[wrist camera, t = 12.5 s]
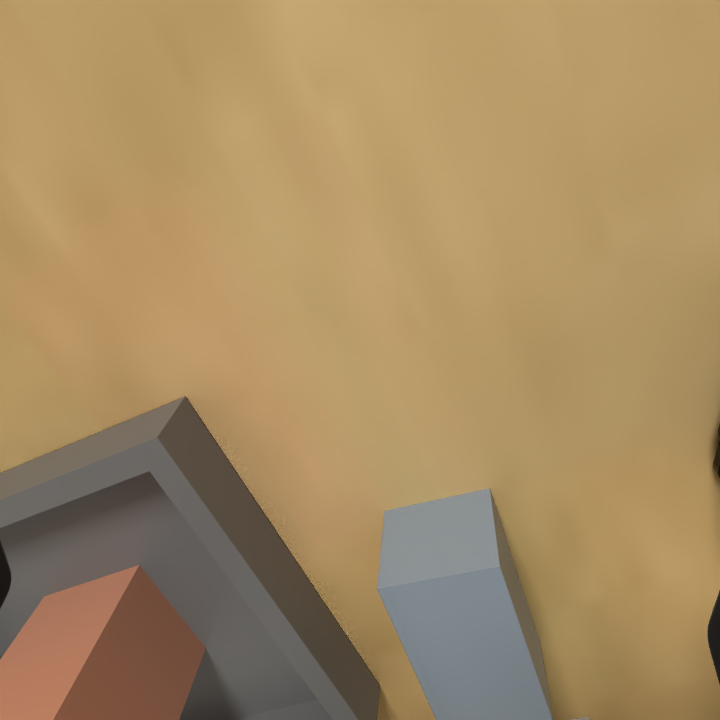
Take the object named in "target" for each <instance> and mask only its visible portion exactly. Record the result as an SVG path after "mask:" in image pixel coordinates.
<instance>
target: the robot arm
mask: <svg viewBox="0 0 720 720" xmlns="http://www.w3.org/2000/svg"><path fill="white" fill-rule="evenodd" d="M718 434H719V435H720V425H719V429H718ZM713 468H714V469H715V471H716V473H717V474H718V476H719V477H720V442H719V446H718V449H717V452H716V456H715V459H714V463H713ZM11 579H12V578H11V570H10V567H9V564H8V561H7V558H6V555H5V552H4V549H3V546H2V543H1V540H0V609H1V607H2V605H3V603H4V601H5V599H6V597H7V595H8V592H9V589H10V586H11ZM708 643H709V648H710V651H711V655H712V659H713V662H714V666H715V670H716V673H717V677H718V681H719V684H720V591H719V594H718V597H717V600H716V603H715V606H714V609H713V612H712V615H711V618H710V621H709V625H708Z"/></svg>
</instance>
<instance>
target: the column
mask: <svg viewBox="0 0 720 720" xmlns="http://www.w3.org/2000/svg"><path fill="white" fill-rule="evenodd" d="M205 649H206V648H205V646H204V645H203V644H202V643H201V641H200V640H199V639H198V638H197V636H196V635H195V634H194V633H193V631H192V630H191V629H190V628H189V626H188V625H187V624H186V623H185V621H184V620H183V619H182V618H181V616H180V615H179V614H178V613H177V611H176V610H175V609H174V608H173V606H172V605H171V604H170V603H169V601H168V600H167V599H166V598H165V596H164V595H163V594H162V593H161V591H160V590H159V589H158V588H157V586H156V585H155V584H154V583H153V581H152V580H151V579H150V578H149V576H148V575H147V574H146V573H145V571H144V570H143V569H142V568H141V566H140V565H138V566H135V567H132V568H129V569H126V570H123V571H120V572H117V573H114V574H111V575H108V576H105V577H102V578H99V579H96V580H93V581H90V582H87V583H84V584H80V585H77V586H74V587H71V588H68V589H65V590H62V591H59V592H56V593H53V594H50V595H47V596H44V597H43V599H42V600H41V602H40V603H39V605H38V606H37V608H36V609H35V610H34V612H33V613H32V615H31V616H30V618H29V619H28V620H27V622H26V623H25V625H24V626H23V628H22V629H21V631H20V632H19V633H18V635H17V636H16V638H15V639H14V641H13V642H12V644H11V645H10V646H9V648H8V649H7V651H6V652H5V654H4V655H3V656H2V658H1V659H0V720H179V719H180V716H181V713H182V711H183V708H184V705H185V702H186V700H187V697H188V694H189V692H190V689H191V686H192V684H193V681H194V678H195V676H196V673H197V670H198V667H199V665H200V662H201V659H202V657H203V654H204V651H205Z"/></svg>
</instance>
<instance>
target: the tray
mask: <svg viewBox="0 0 720 720" xmlns="http://www.w3.org/2000/svg"><path fill="white" fill-rule="evenodd" d="M0 540H1V543H2V546H3V549H4V552H5V555H6V558H7V561H8V564H9V567H10V570H11V578H12V579H11V586H10V589H9V592H8V595H7V597H6V599H5V601H4V603H3V605H2V607H1V609H0V659H1V658H2V656H3V655H4V654H5V652H6V651H7V649H8V648H9V646H10V645H11V644H12V642H13V641H14V639H15V638H16V636H17V635H18V633H19V632H20V631H21V629H22V628H23V626H24V625H25V623H26V622H27V620H28V619H29V618H30V616H31V615H32V613H33V612H34V610H35V609H36V608H37V606H38V605H39V603H40V602H41V600H42V599H43V597H44V596H47V595H50V594H53V593H56V592H59V591H62V590H65V589H68V588H71V587H74V586H77V585H80V584H84V583H87V582H90V581H93V580H96V579H99V578H102V577H105V576H108V575H111V574H114V573H117V572H120V571H123V570H126V569H129V568H132V567H135V566H138V565H140V566H141V568H142V569H143V570H144V571H145V573H146V574H147V575H148V576H149V578H150V579H151V580H152V581H153V583H154V584H155V585H156V586H157V588H158V589H159V590H160V591H161V593H162V594H163V595H164V596H165V598H166V599H167V600H168V601H169V603H170V604H171V605H172V606H173V608H174V609H175V610H176V611H177V613H178V614H179V615H180V616H181V618H182V619H183V620H184V621H185V623H186V624H187V625H188V626H189V628H190V629H191V630H192V631H193V633H194V634H195V635H196V636H197V638H198V639H199V640H200V641H201V643H202V644H203V645H204V646H205V648H206V649H205V651H204V654H203V657H202V659H201V662H200V665H199V667H198V670H197V673H196V676H195V678H194V681H193V684H192V686H191V689H190V692H189V694H188V697H187V700H186V702H185V705H184V708H183V711H182V713H181V716H180V719H179V720H377V714H378V701H379V689H380V685H379V684H378V682H377V681H376V679H375V678H374V676H373V675H372V673H371V672H370V670H369V669H368V667H367V666H366V664H365V663H364V661H363V660H362V658H361V657H360V655H359V654H358V652H357V651H356V650H355V648H354V647H353V645H352V644H351V642H350V641H349V639H348V638H347V636H346V635H345V633H344V632H343V630H342V629H341V627H340V626H339V624H338V623H337V621H336V620H335V618H334V617H333V615H332V614H331V612H330V611H329V609H328V608H327V606H326V605H325V603H324V602H323V600H322V599H321V597H320V596H319V595H318V593H317V592H316V590H315V589H314V587H313V586H312V584H311V583H310V581H309V580H308V578H307V577H306V575H305V574H304V572H303V571H302V569H301V568H300V566H299V565H298V563H297V562H296V560H295V559H294V557H293V556H292V554H291V553H290V551H289V550H288V548H287V547H286V545H285V544H284V542H283V541H282V540H281V538H280V537H279V535H278V534H277V532H276V531H275V529H274V528H273V526H272V525H271V523H270V522H269V520H268V519H267V517H266V516H265V514H264V513H263V511H262V510H261V508H260V507H259V505H258V504H257V502H256V501H255V499H254V498H253V496H252V495H251V493H250V492H249V490H248V489H247V487H246V486H245V485H244V483H243V482H242V480H241V479H240V477H239V476H238V474H237V473H236V471H235V470H234V468H233V467H232V465H231V464H230V462H229V461H228V459H227V458H226V456H225V455H224V453H223V452H222V450H221V449H220V447H219V446H218V444H217V443H216V441H215V440H214V438H213V437H212V435H211V434H210V432H209V431H208V430H207V428H206V427H205V425H204V424H203V422H202V421H201V419H200V418H199V416H198V415H197V413H196V412H195V410H194V409H193V407H192V406H191V404H190V403H189V401H188V400H187V398H186V397H183V398H180V399H178V400H176V401H173V402H171V403H168V404H166V405H164V406H161V407H159V408H156V409H154V410H152V411H149V412H147V413H144V414H142V415H139V416H137V417H135V418H132V419H130V420H127V421H125V422H123V423H120V424H118V425H115V426H113V427H110V428H108V429H106V430H103V431H101V432H98V433H96V434H94V435H91V436H89V437H86V438H84V439H82V440H79V441H77V442H74V443H72V444H69V445H67V446H65V447H62V448H60V449H57V450H55V451H53V452H50V453H48V454H45V455H43V456H41V457H38V458H36V459H33V460H31V461H28V462H26V463H24V464H21V465H19V466H16V467H14V468H12V469H9V470H7V471H4V472H2V473H0Z"/></svg>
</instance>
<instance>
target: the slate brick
mask: <svg viewBox="0 0 720 720" xmlns="http://www.w3.org/2000/svg"><path fill="white" fill-rule="evenodd" d="M377 590H378V592H379V594H380V597H381V599H382V601H383V603H384V605H385V608H386V610H387V612H388V614H389V616H390V619H391V621H392V623H393V625H394V628H395V630H396V632H397V634H398V636H399V639H400V641H401V643H402V645H403V647H404V650H405V652H406V654H407V656H408V658H409V661H410V663H411V665H412V667H413V669H414V672H415V674H416V676H417V678H418V680H419V683H420V685H421V687H422V689H423V692H424V694H425V696H426V698H427V700H428V703H429V705H430V707H431V709H432V711H433V714H434V716H435V718H436V720H554V718H553V712H552V707H551V701H550V696H549V690H548V685H547V679H546V673H545V668H544V662H543V657H542V651H541V646H540V640H539V637H538V634H537V631H536V628H535V625H534V622H533V619H532V616H531V613H530V610H529V607H528V604H527V601H526V598H525V594H524V591H523V588H522V585H521V582H520V579H519V576H518V573H517V570H516V567H515V564H514V561H513V558H512V555H511V552H510V549H509V546H508V543H507V540H506V537H505V533H504V530H503V527H502V524H501V521H500V518H499V515H498V512H497V509H496V506H495V503H494V500H493V497H492V494H491V491H490V489H485V490H480V491H476V492H471V493H466V494H462V495H457V496H452V497H448V498H443V499H438V500H434V501H429V502H424V503H420V504H415V505H410V506H406V507H401V508H396V509H392V510H387V511H385V513H384V524H383V534H382V544H381V554H380V564H379V574H378V584H377Z"/></svg>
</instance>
